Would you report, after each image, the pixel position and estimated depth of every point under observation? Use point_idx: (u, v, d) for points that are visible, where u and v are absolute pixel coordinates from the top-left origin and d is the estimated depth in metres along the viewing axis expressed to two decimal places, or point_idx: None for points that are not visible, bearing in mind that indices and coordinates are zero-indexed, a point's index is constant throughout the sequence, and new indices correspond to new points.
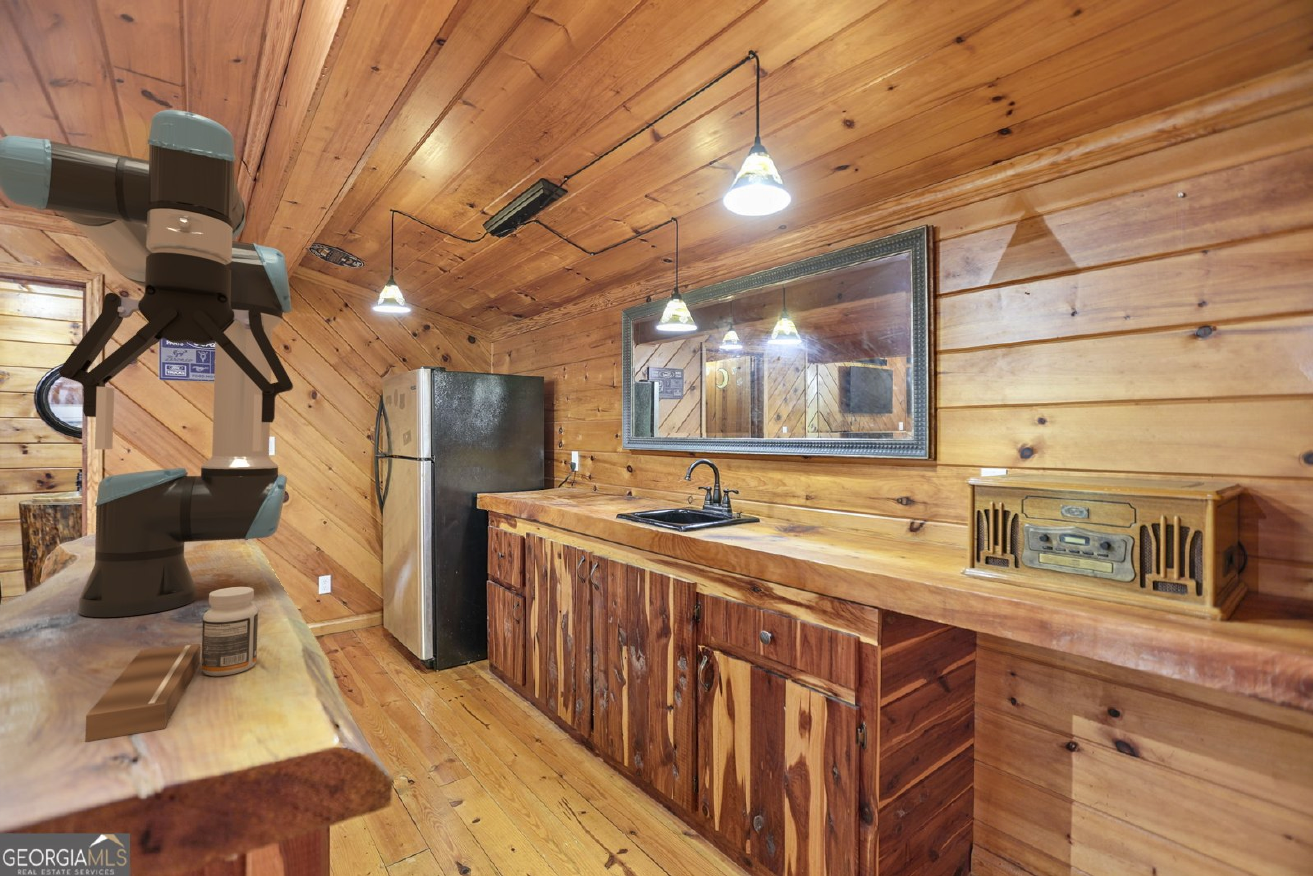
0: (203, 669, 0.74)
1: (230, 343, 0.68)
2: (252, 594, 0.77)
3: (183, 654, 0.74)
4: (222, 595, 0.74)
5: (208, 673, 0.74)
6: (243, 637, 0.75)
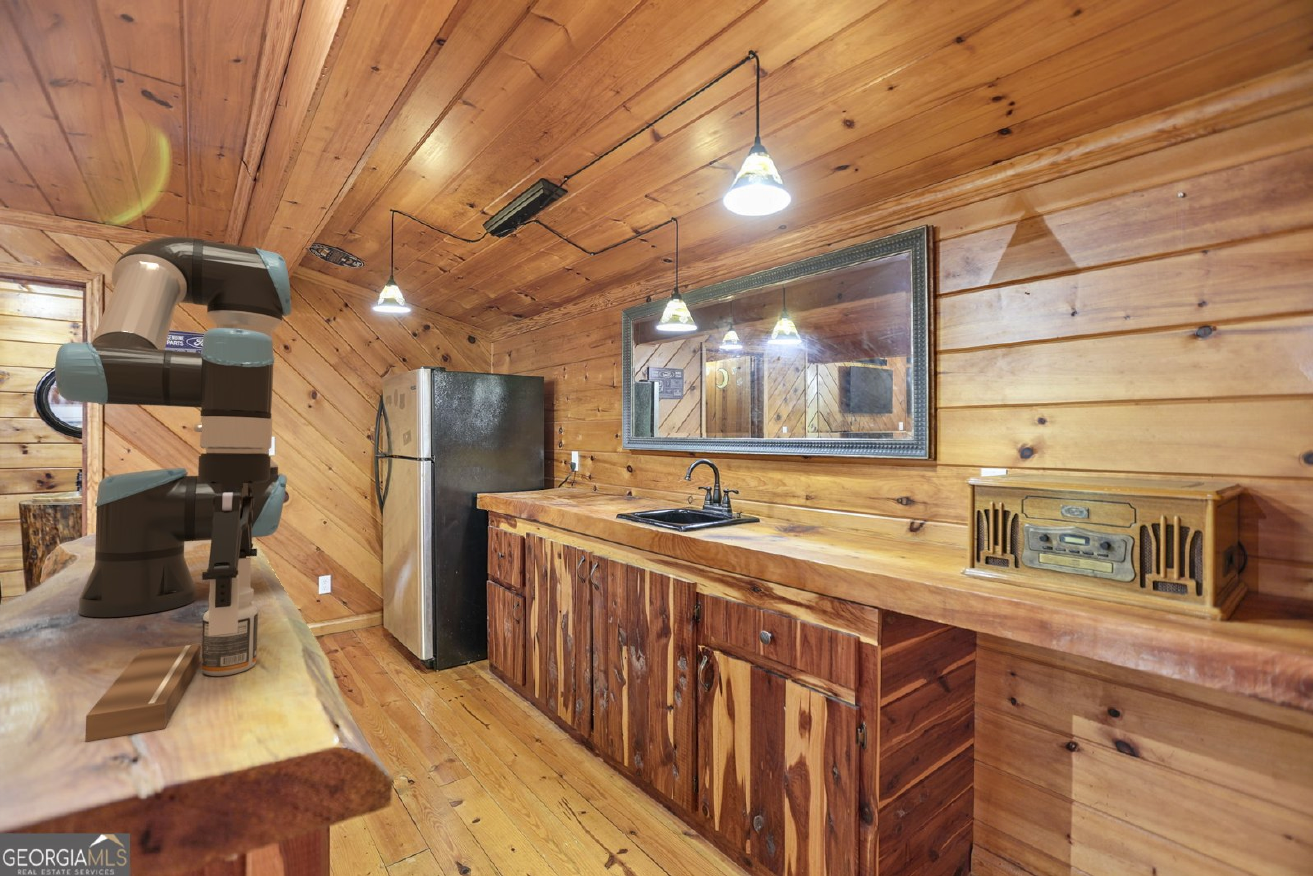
0: (203, 669, 0.74)
1: None
2: (252, 594, 0.77)
3: (183, 654, 0.74)
4: None
5: (208, 673, 0.74)
6: (243, 637, 0.75)
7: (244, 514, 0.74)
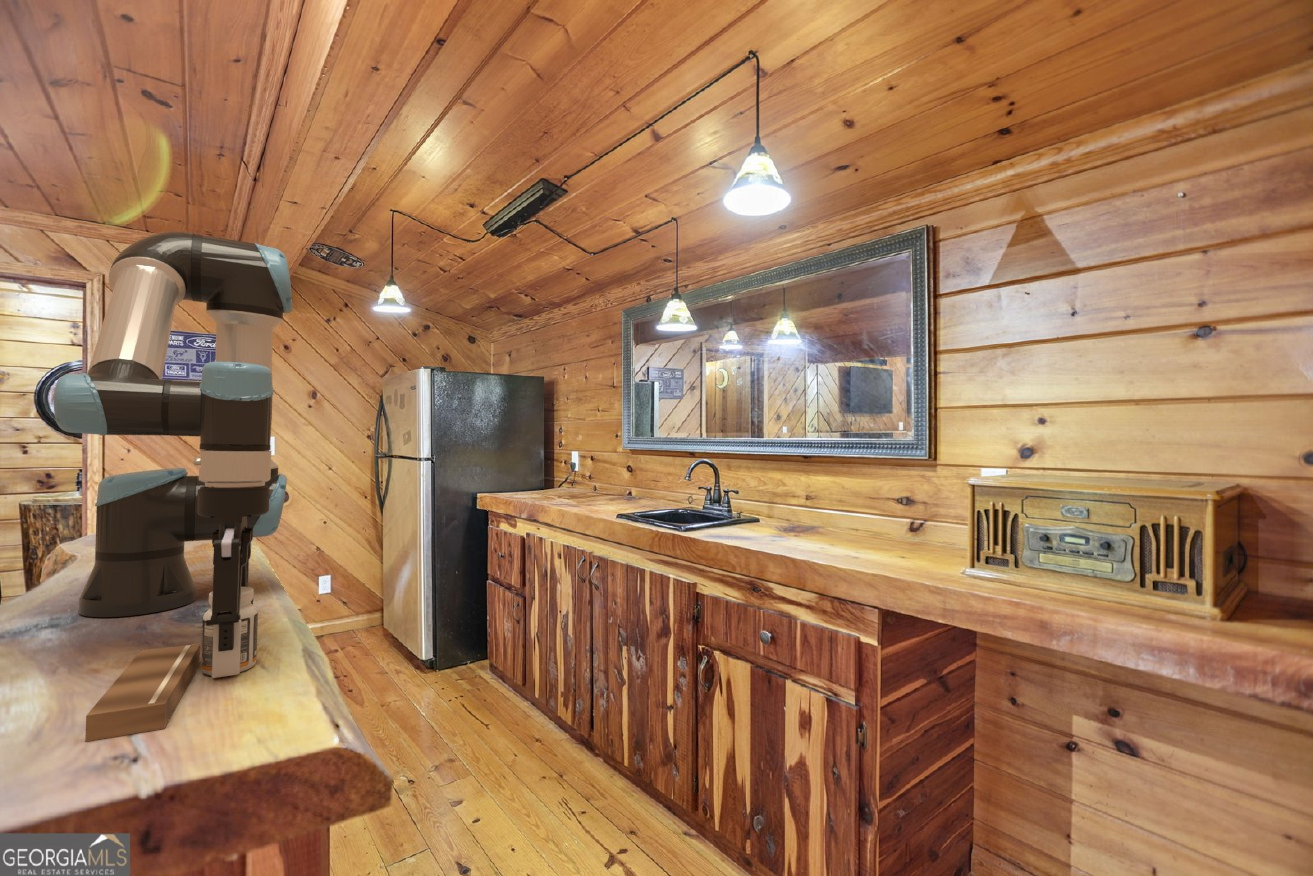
0: (203, 669, 0.74)
1: None
2: (252, 594, 0.77)
3: (183, 654, 0.74)
4: None
5: (208, 673, 0.74)
6: (243, 637, 0.75)
7: (244, 552, 0.75)
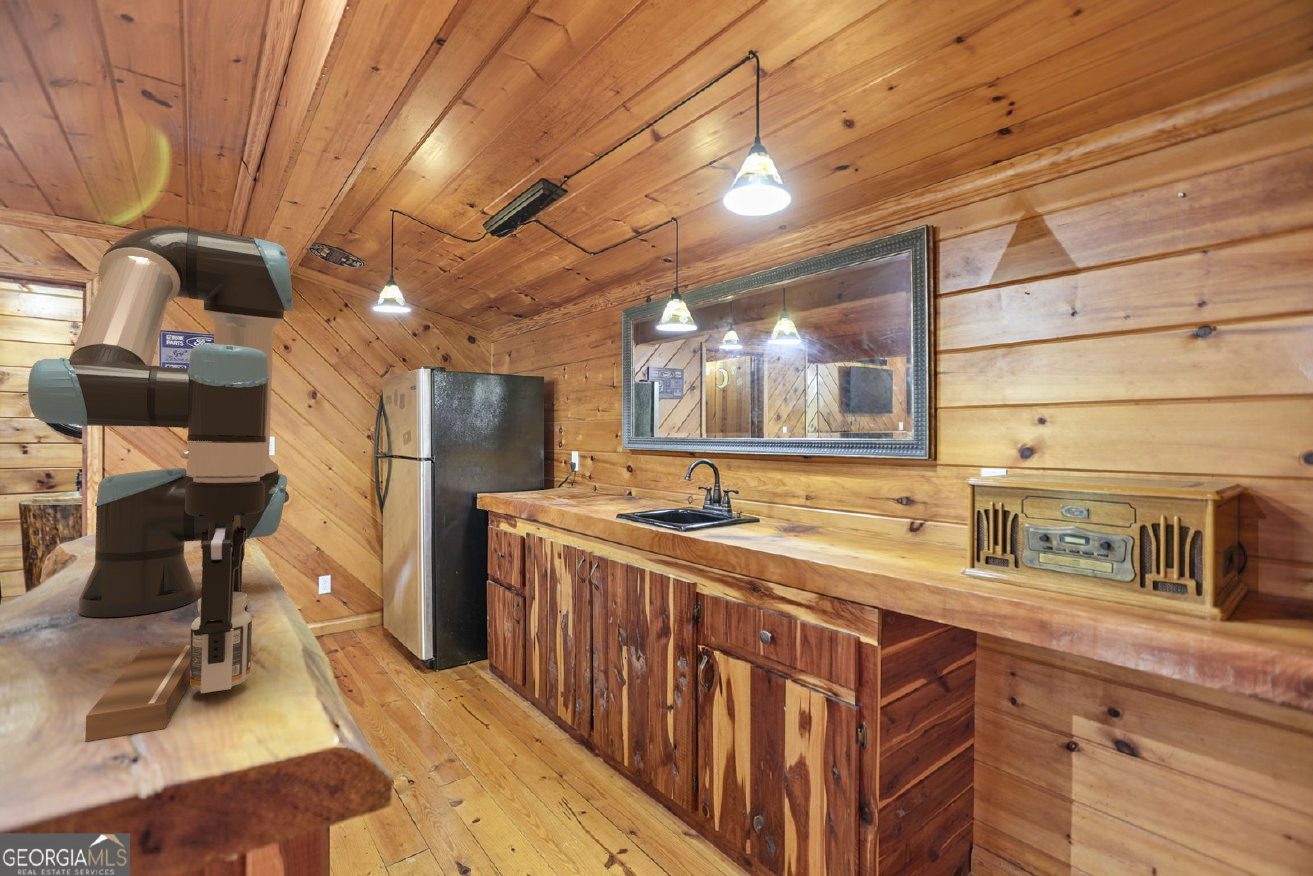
0: (191, 683, 0.67)
1: None
2: (245, 600, 0.70)
3: (183, 654, 0.74)
4: None
5: (197, 687, 0.67)
6: (235, 647, 0.68)
7: (236, 554, 0.68)
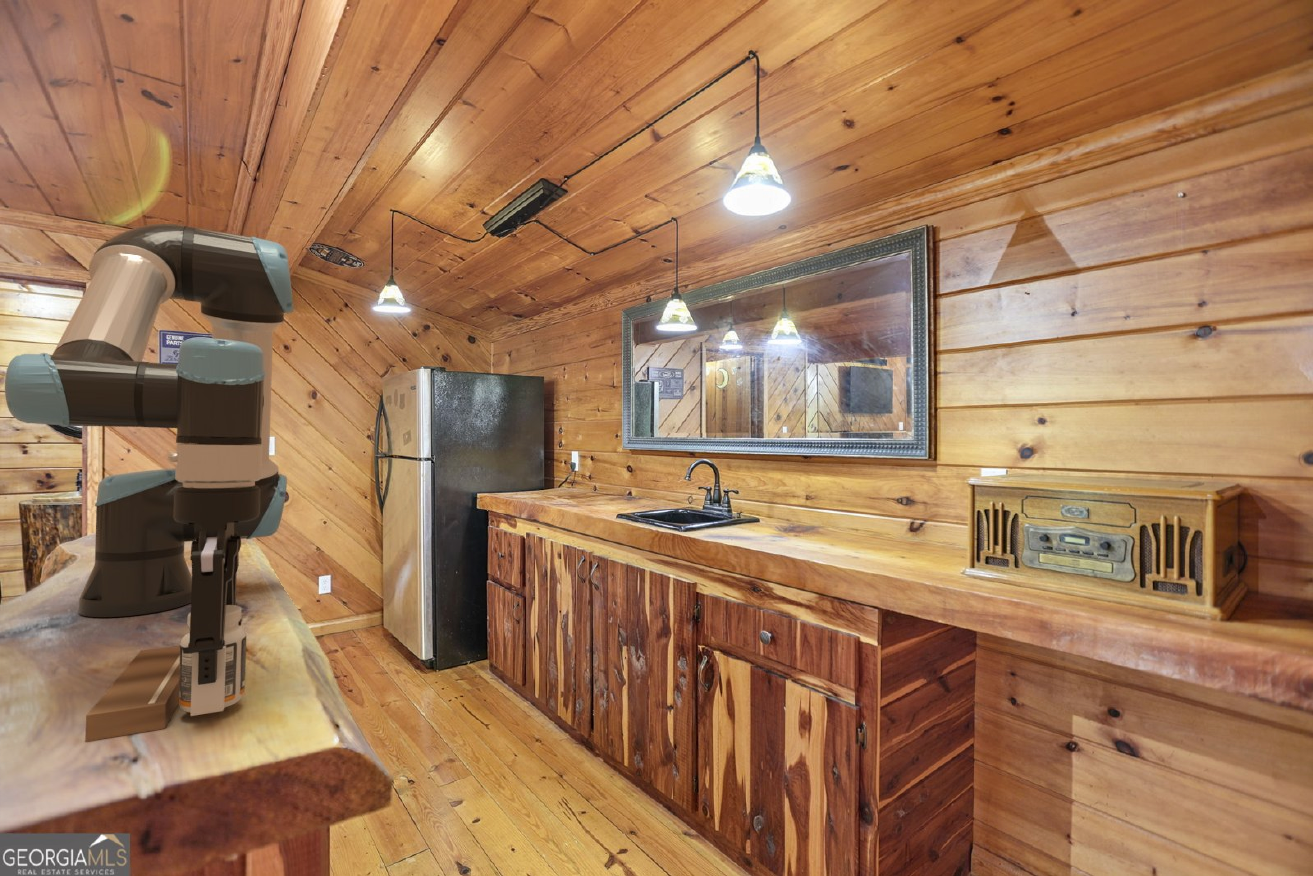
0: (181, 704, 0.62)
1: None
2: (239, 614, 0.65)
3: None
4: None
5: (186, 709, 0.62)
6: (228, 665, 0.63)
7: (229, 565, 0.63)
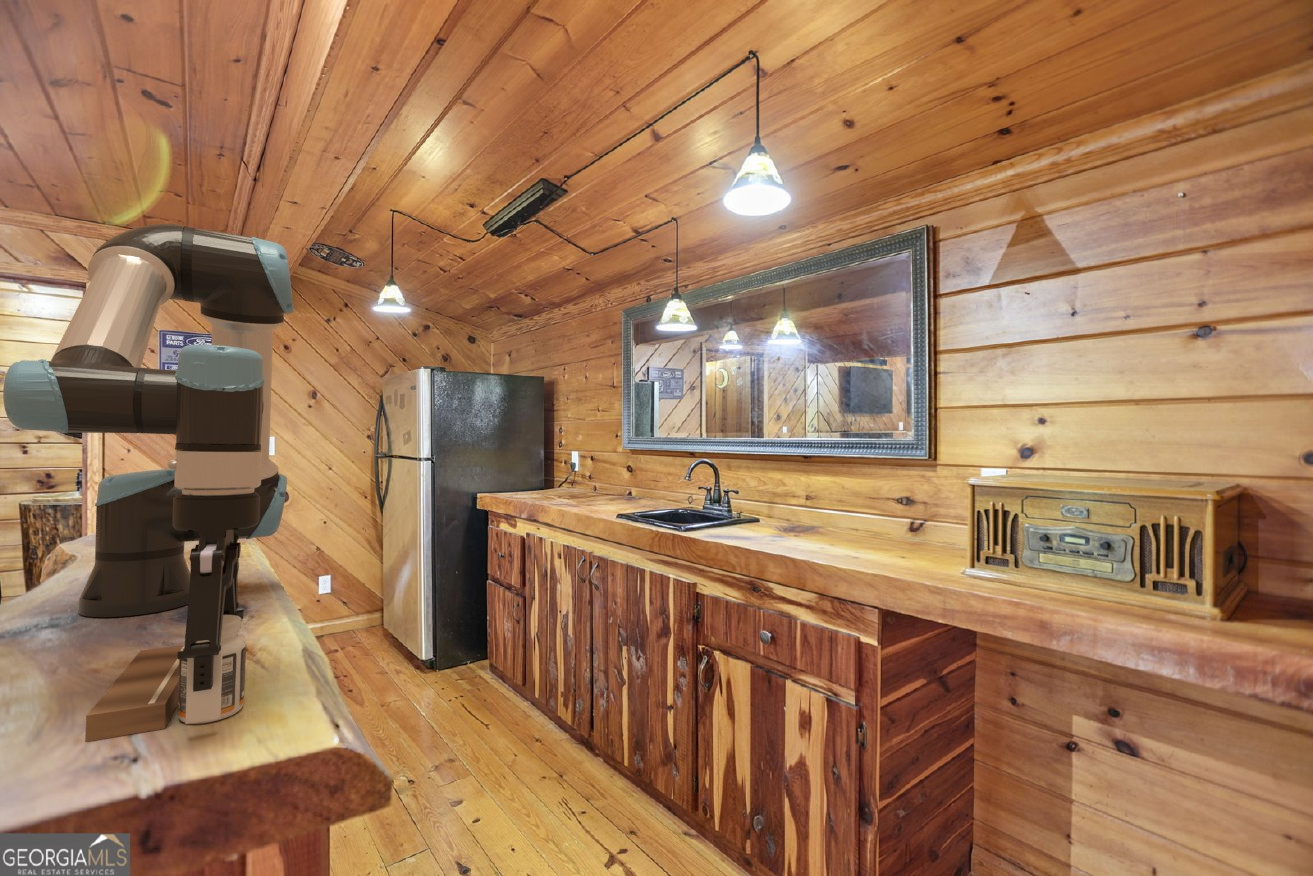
0: (180, 715, 0.62)
1: None
2: (239, 624, 0.65)
3: None
4: None
5: (185, 720, 0.62)
6: (228, 676, 0.63)
7: (228, 570, 0.62)
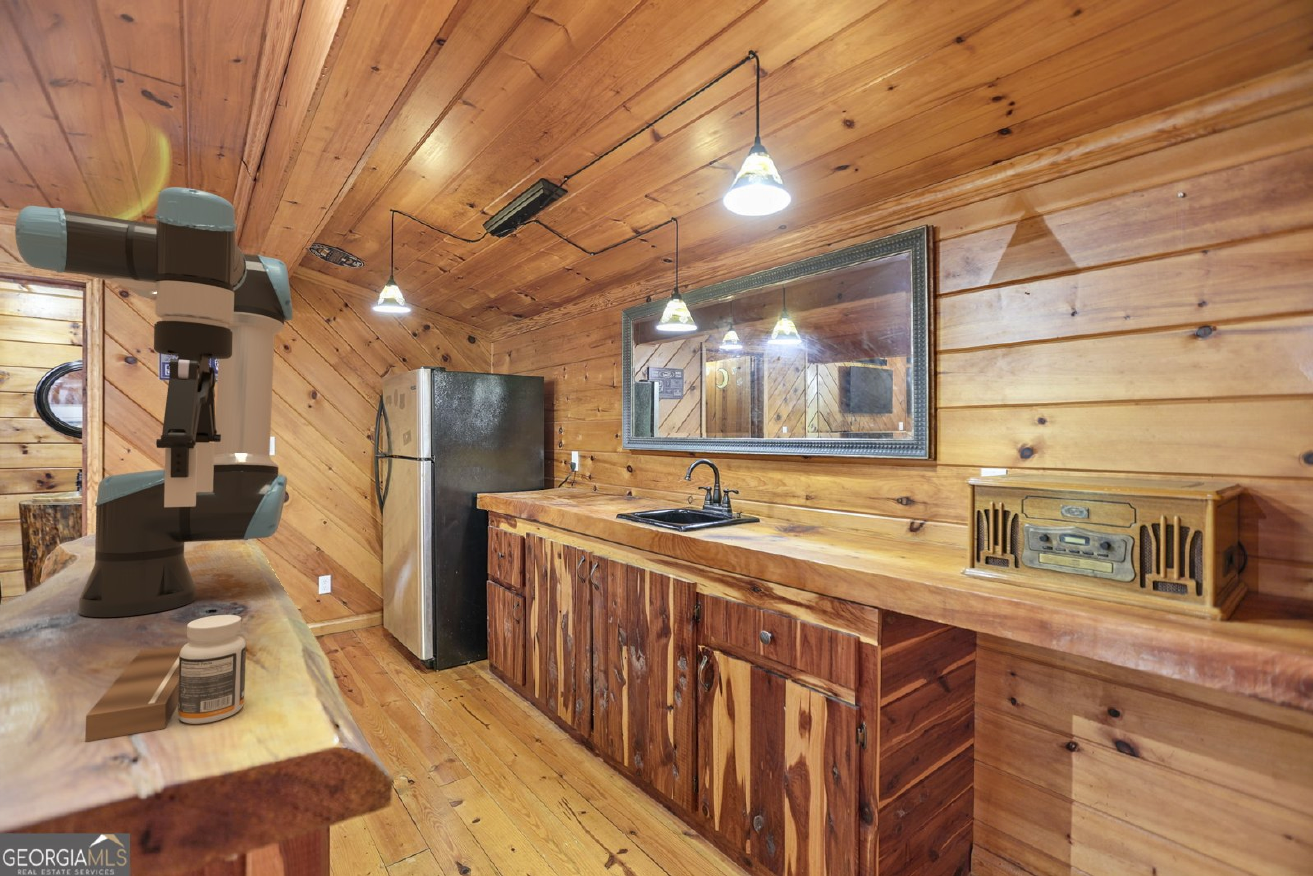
0: (180, 715, 0.62)
1: None
2: (239, 624, 0.65)
3: None
4: (203, 627, 0.62)
5: (185, 720, 0.62)
6: (228, 676, 0.63)
7: (203, 387, 0.71)
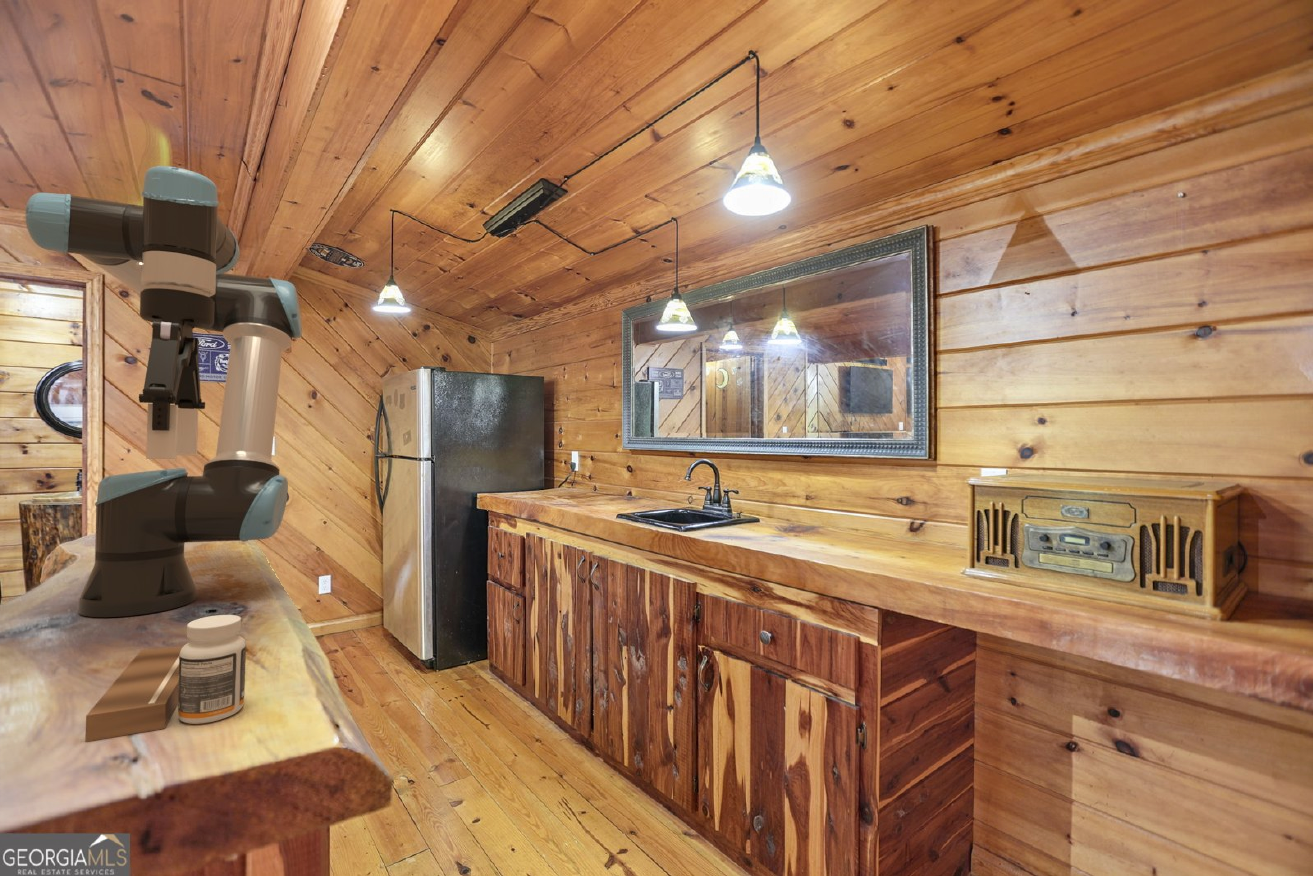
0: (180, 715, 0.62)
1: None
2: (239, 624, 0.65)
3: None
4: (202, 627, 0.62)
5: (185, 720, 0.62)
6: (228, 676, 0.63)
7: (185, 350, 0.75)
